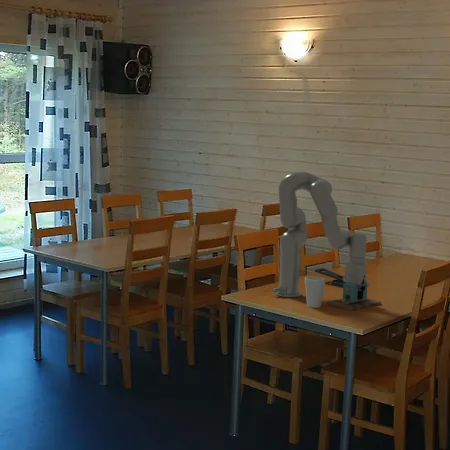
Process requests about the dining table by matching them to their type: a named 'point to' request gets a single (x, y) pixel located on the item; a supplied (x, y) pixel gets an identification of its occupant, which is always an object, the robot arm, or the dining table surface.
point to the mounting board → (353, 304)
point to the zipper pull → (338, 282)
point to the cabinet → (353, 292)
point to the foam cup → (314, 291)
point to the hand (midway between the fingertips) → (354, 297)
